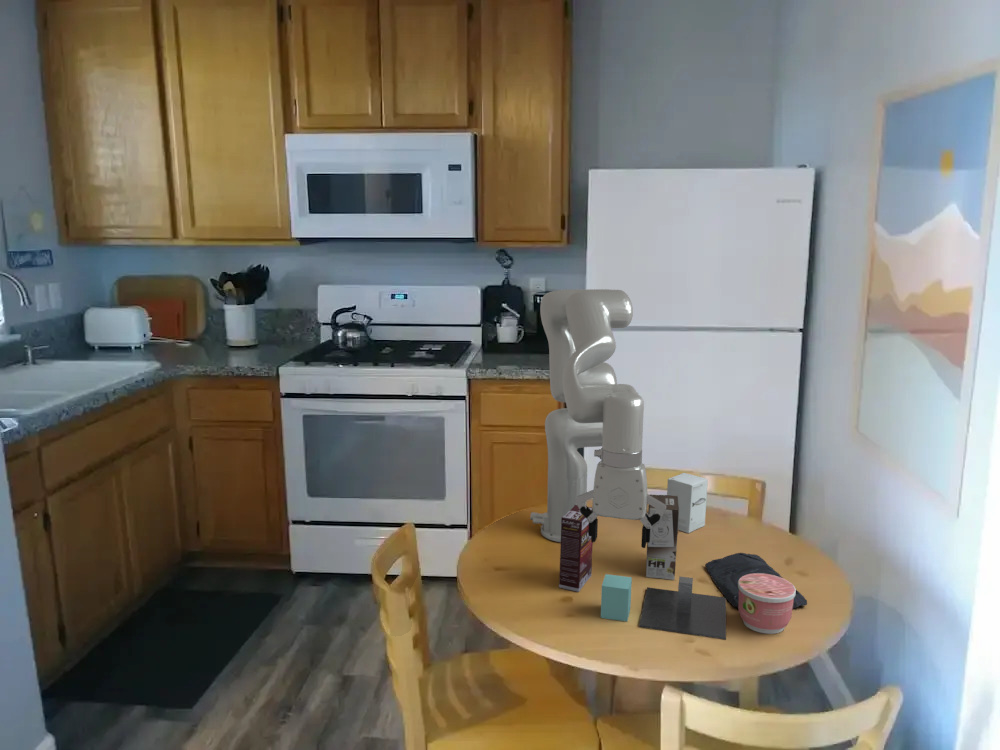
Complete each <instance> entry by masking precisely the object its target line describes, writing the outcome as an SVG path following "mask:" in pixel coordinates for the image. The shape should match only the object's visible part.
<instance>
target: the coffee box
mask: <svg viewBox="0 0 1000 750" xmlns="http://www.w3.org/2000/svg"><path fill="white" fill-rule="evenodd" d="M649 495H650V496H652V497H653V498H655V499H657V500H659V501H660V502H662V503H664V504H665V505H666V510H665V512H664V513H663V515H662V516H661V518H660V520H659V521H658V522H656V523H655V524H654V525H653V526H651V530H650V543H648V542H647V543H646V555H645V556H646V557H645V558H646V559H645V561H646V563H645V565H646V566H645V568H646V571H645V577H646V578H652V579H662V580H670V581H674V580H675V579H676V578H675V576H676V564H677V550H678V549H677V548H678V534H679V533H678V531H679V530H678V517H679V504H678V496H672V495H667V494H649ZM656 511H657V509H656V508H655V507H653V506H651V505H649V504H648V512H647V513H648V514H649V516H650V517H651V516H652V515H653V514H654V513H656Z"/></svg>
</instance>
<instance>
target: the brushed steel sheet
mask: <svg viewBox="0 0 1000 750" xmlns="http://www.w3.org/2000/svg"><path fill="white" fill-rule="evenodd" d="M678 577H679V578H678V587H677V588H678V590H672V589H671V590H670V589H663V588H655V587H648V586H647V587H646V591H645V596H644V600H643V604H642V606H643V607H642V610H641V615H640V619H639V624H638V628H643V629H644V628H645V629H650V630H657V631H658V630H659V631H665V632H670V633H671V632H672V633H678V634H684V635H690V636H691V635H693V636H699V637H705V638H713V639H719V640H721V639H722V640H727V598H726V597H725V596H718V595H717V596H716V595H710V594H701V593H693V581H694V577H690V576H689V577H687V576H680V575H679V576H678Z"/></svg>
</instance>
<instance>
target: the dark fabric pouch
mask: <svg viewBox="0 0 1000 750" xmlns="http://www.w3.org/2000/svg"><path fill="white" fill-rule="evenodd" d="M705 568H706V570H707V571H708V574H709V575H710V577H711V579H712V581H713V583H714V584H715V585H716V587H717V588H718V589H719V590H720V592H721V593H722V595H724V596H723V597H726V601H728V603H729V604H731V605H732V607H734V608H737V609H738V606H739V588H738V581H739V579H740V578H741V577H742V576H744V575H747V574H753V573H763V574H770V575H775V576H778V577H781V578H783V579H784V577H783V576H782V575H781V574H780V573H779V572H777V571H776V570H775V569H774V568H773V567H772V566H770V565H769V564H768V563H767V562H766V561H765V560H764V558H762V557H761V556H759V554H755V553H753V554H751V553H746V552H745V553H744V552H736V553H734V554H730V555H726V556H724V557H722V558H716V559H713V560H712V559H711V561H708V562H706V563H705ZM807 605H808V600H807V599H806V597H805V596H804V595H802V593H801V592H799V591H798V590H797V589H796V595H795V597H794V601H793V608H792V610H794V609H796V608H799V607H800V606H802V607H803V606H807Z"/></svg>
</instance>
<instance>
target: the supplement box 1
mask: <svg viewBox="0 0 1000 750" xmlns="http://www.w3.org/2000/svg"><path fill="white" fill-rule="evenodd" d="M587 507H588V508H589V509H590V510H591V511H592V510H593V509H592V507H589V506H587ZM588 534H589V522H588V521H587V519H586V518H585V517H584V515H583V514H582V513H581V512H580V509H579V507H578V505H574V507H573V508H572V509H571V510H570V511H569V512H568V513H567V514H566V515H564V516H563V517H562V518H561V542H560V552H559V553H560V554H559V555H560V557H559V577H558V578H559V579H558V581H559V582H558V588H559V589H563V590H568V591H571V592H576V593H579V592H581V590H582V588H583V587H584V585H585V584H586V583H587V582H588V580H589V579H590V578H591V577H592V571H593V570H592V569H593V568H592V567H593V544H594V542H591V536H589V535H588Z"/></svg>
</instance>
